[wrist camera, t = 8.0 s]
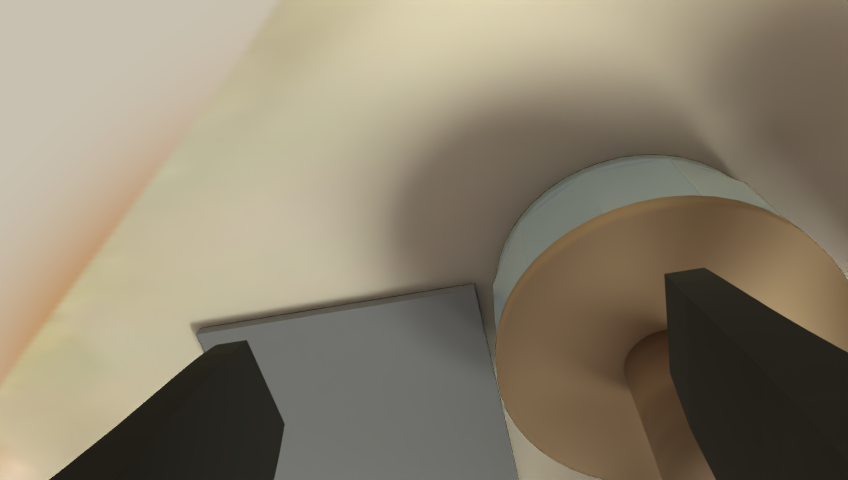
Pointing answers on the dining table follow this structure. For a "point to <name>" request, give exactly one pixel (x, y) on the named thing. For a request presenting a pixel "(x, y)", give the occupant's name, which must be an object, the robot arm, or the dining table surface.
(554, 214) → the bowl
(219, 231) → the dining table surface
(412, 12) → the dining table surface
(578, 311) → the lid
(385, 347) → the mat
